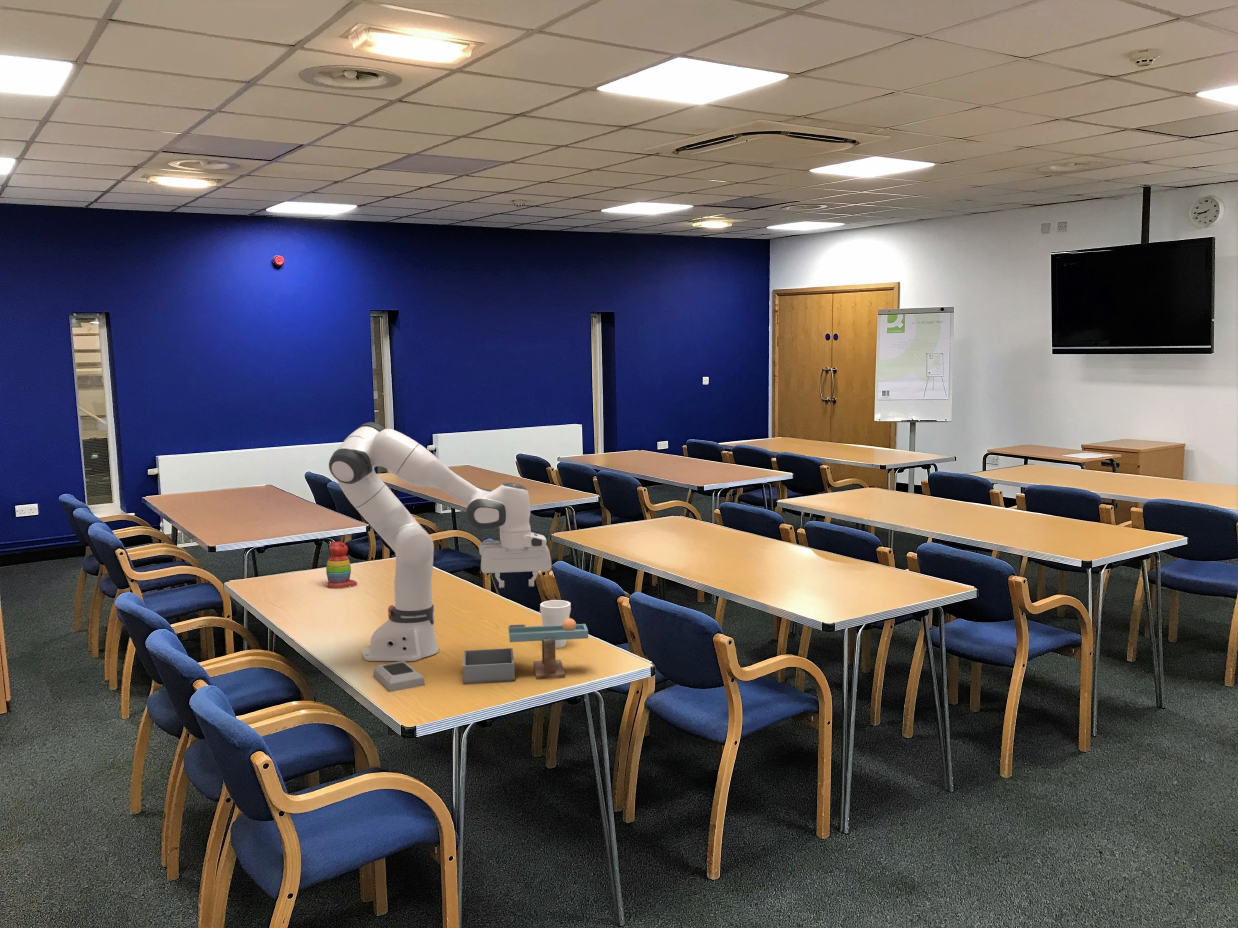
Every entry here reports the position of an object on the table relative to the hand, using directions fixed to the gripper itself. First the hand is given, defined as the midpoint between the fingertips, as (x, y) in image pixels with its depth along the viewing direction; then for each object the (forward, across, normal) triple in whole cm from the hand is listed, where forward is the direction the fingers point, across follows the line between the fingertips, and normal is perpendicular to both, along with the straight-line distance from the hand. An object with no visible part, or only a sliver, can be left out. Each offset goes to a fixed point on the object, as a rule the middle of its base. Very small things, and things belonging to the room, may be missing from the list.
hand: (516, 586), depth 268 cm
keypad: (+24, -33, -8) cm, 42 cm away
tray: (+23, -9, -7) cm, 26 cm away
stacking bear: (+23, -66, +107) cm, 128 cm away
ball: (+10, +14, -6) cm, 19 cm away
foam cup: (+24, +12, +18) cm, 32 cm away
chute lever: (+13, +8, -3) cm, 16 cm away
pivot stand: (+23, +8, -6) cm, 26 cm away
